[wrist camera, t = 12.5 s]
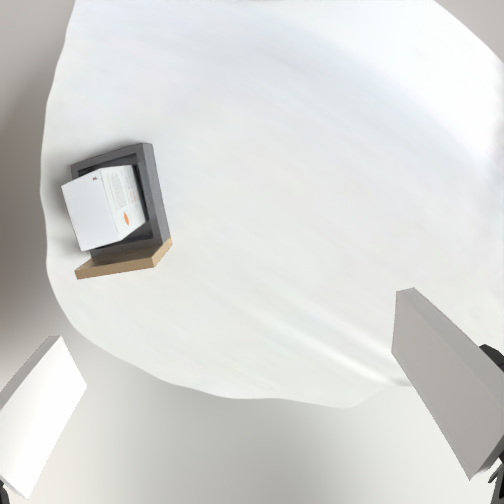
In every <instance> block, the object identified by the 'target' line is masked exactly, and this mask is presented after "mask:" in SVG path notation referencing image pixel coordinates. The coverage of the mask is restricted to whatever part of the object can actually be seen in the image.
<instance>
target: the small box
mask: <svg viewBox="0 0 504 504" xmlns="http://www.w3.org/2000/svg"><path fill="white" fill-rule="evenodd" d="M61 189H62V192H63V196H64V199H65V203H66V206H67V210H68V213H69V216H70V219H71V222H72V226H73V229H74V232H75V235H76V238H77V241H78V243H79V246H80V249H81V251H82V252H83V251H87V250H90V249H93V248H97V247H100V246H104V245H107V244H110V243H114V242H117V241H121V240H122V239H123V238H125V237H126V236H127V235H129V234H130V233H131V232H133V231H134V230H136V229H137V228H138V227H140V226H141V225H142V224H144V223H145V222H146V221H148V220H149V217H148V213H147V210H146V207H145V203H144V200H143V197H142V193H141V190H140V186H139V182H138V179H137V175H136V172H135V168H134V165H133V164H131V165H123V166H115V167H106V168H100V169H97V170H95V171H93V172H90V173H88V174H86V175H84V176H81V177H79V178H77V179H75V180H72V181H70V182H68V183H66V184H64V185H62V186H61Z"/></svg>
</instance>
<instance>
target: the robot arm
mask: <svg viewBox="0 0 504 504" xmlns="http://www.w3.org/2000/svg"><path fill="white" fill-rule="evenodd" d="M391 353H392V354H393V356H394V357H395V359H396V360H397V362H398V363H399V365H400V366H401V368H402V369H403V371H404V372H405V374H406V375H407V377H408V378H409V380H410V381H411V383H412V384H413V386H414V388H415V389H416V391H417V392H418V394H419V395H420V397H421V398H422V400H423V402H424V403H425V405H426V407H427V408H428V410H429V411H430V413H431V415H432V416H433V418H434V420H435V421H436V423H437V424H438V426H439V428H440V429H441V431H442V433H443V434H444V436H445V438H446V440H447V441H448V443H449V445H450V446H451V448H452V450H453V452H454V453H455V455H456V457H457V459H458V460H459V462H460V464H461V466H462V468H463V469H464V471H465V473H466V475H467V477H468V479H469V480H471V479H473V478H475V477H477V476H478V475H480V474H482V473H483V472H485V471H486V470H488V469H490V467H491V466H492V465H493V464H494V462H495V461H496V460H497V458H498V457H499V458H500V460H501V461H502V464H501V465H500V466H499V467H498V468H497V470H496V471H495V472H494V473H493V474H492V476H491V477H490V479H489V481H488V483H491V482H492V481H493V480H494V479H495V478H496V477H497V480H496V482H495V483H496V485H495V489H494V493H493V497H492V501H491V504H504V356H503V355H502V354H501V353H500V352H499V351H498V350H496V349H494V348H492V347H490V346H488V345H486V344H484V345H482V346H479V347H478V346H477V345H476V344H475V343H474V342H473V341H472V340H471V339H470V338H469V337H468V336H467V335H466V334H465V333H464V332H463V331H462V330H461V329H459V328H458V327H457V326H456V325H455V324H454V323H453V322H452V321H451V320H450V319H449V318H448V317H447V316H445V315H444V314H443V313H442V312H441V311H440V310H439V309H438V308H437V307H436V306H434V305H433V304H432V303H431V302H430V301H429V300H428V299H427V298H425V297H424V296H423V295H422V294H421V293H420V292H419V291H417V290H416V289H415V288H410V289H406V290H402V291H397V292H396V307H395V320H394V331H393V341H392V350H391ZM86 388H87V385H86V384H85V382H84V380H83V378H82V376H81V375H80V372H79V371H78V369H77V367H76V365H75V363H74V361H73V359H72V357H71V355H70V353H69V351H68V349H67V347H66V345H65V343H64V341H63V339H62V336H49V337H48V338H47V339H46V340H45V341H44V342H43V343H42V344H41V345H40V347H39V348H38V349H37V350H36V351H35V352H34V353H33V354H32V356H31V357H30V358H29V359H28V360H27V361H26V362H25V364H24V365H23V366H22V367H21V368H20V369H19V370H18V372H17V373H16V374H15V375H14V377H13V378H12V379H11V380H10V381H9V382H8V384H7V385H6V386H5V387H4V389H3V390H2V391H1V392H0V504H10V503H9V498H8V494H7V491H6V490H5V489H4V488H3V485H4V484H5V485H6V486H8V487H9V488H10V489H11V490H12V491H13V492H14V493H16V494H18V495H20V496H22V497H24V498H26V499H29V497H30V494H31V492H32V490H33V488H34V486H35V483H36V481H37V479H38V477H39V475H40V473H41V471H42V469H43V467H44V465H45V463H46V460H47V459H48V457H49V455H50V453H51V451H52V449H53V447H54V445H55V443H56V441H57V439H58V437H59V436H60V434H61V432H62V430H63V428H64V426H65V425H66V423H67V421H68V419H69V417H70V416H71V414H72V412H73V410H74V408H75V407H76V405H77V403H78V401H79V400H80V398H81V396H82V394H83V393H84V390H85V389H86Z"/></svg>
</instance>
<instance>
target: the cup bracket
mask: <svg viewBox="0 0 504 504" xmlns="http://www.w3.org/2000/svg"><path fill="white" fill-rule="evenodd" d="M131 164H133V165H134V168H135V172H136V175H137V179H138V182H139V186H140V190H141V193H142V197H143V200H144V203H145V207H146V210H147V213H148V217H149V220H148V221H146V222H145V223H144V224H142V225H141V226H140V227H138V228H137V229H136V230H134V231H133V232H131V233H130V234H129V235H127V236H126V237H125V238H123V239H122V240H121V241H117V242H114V243H110V244H107V245H104V246H100V247H97V248H93V249H90V254H91V257H92V258H91V259H89V260H88V261H87V262H85V263H84V264H83V265H81V266H80V267H78V268H77V269H76V270H75V274H76V277H77V280H78V279H84V278H90V277H96V276H103V275H109V274H115V273H121V272H128V271H134V270H140V269H146V268H153V267H155V266H156V265H157V263H158V262H159V261H160V260H161V258H162V257H163V256H164V255H165V253H166V252H167V251H168V250H169V248H170V247H171V246H172V241H171V236H170V232H169V228H168V223H167V218H166V214H165V209H164V204H163V200H162V195H161V190H160V184H159V179H158V174H157V169H156V163H155V157H154V152H153V146H152V144H149V143H140V144H136V145H132V146H129V147H125V148H122V149H119V150H115V151H112V152H109V153H106V154H103V155H100V156H97V157H94V158H91V159H88V160H85V161H82V162H79V163H76V164H74V165H71V172H72V178H73V180H75V179H77V178H79V177H81V176H84V175H86V174H88V173H90V172H93V171H95V170H97V169H100V168H106V167H115V166H123V165H131Z"/></svg>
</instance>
